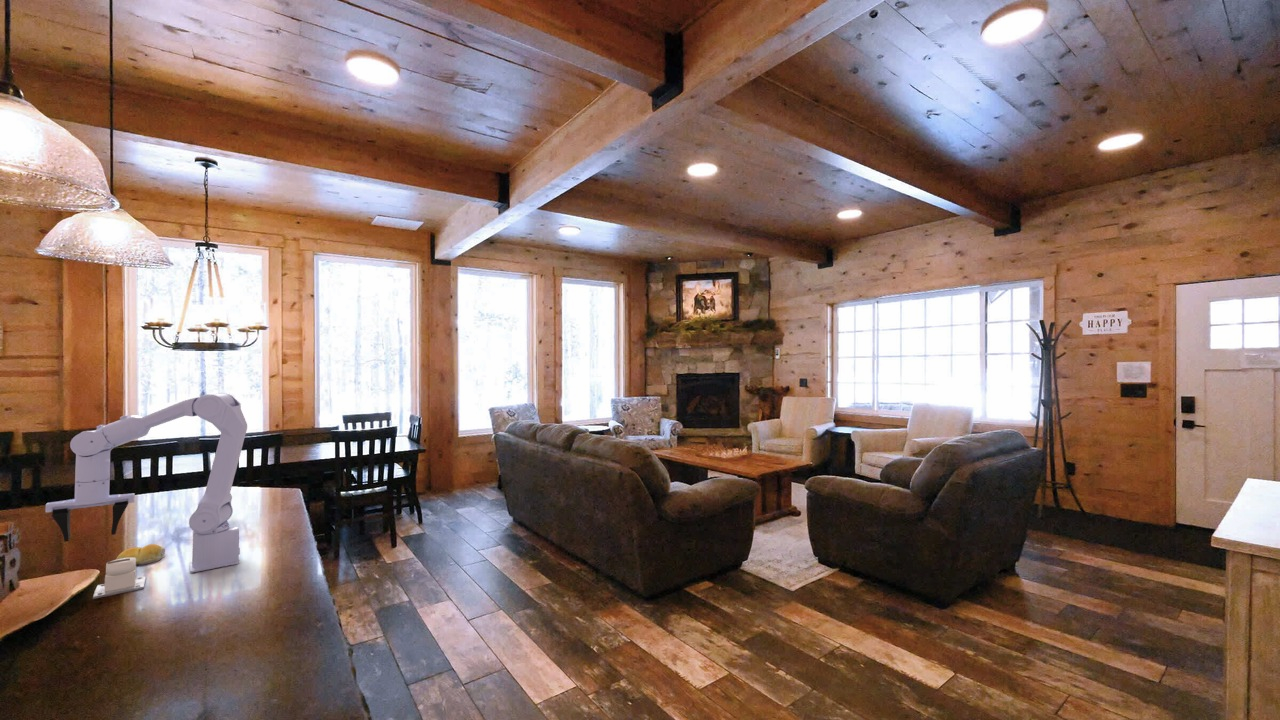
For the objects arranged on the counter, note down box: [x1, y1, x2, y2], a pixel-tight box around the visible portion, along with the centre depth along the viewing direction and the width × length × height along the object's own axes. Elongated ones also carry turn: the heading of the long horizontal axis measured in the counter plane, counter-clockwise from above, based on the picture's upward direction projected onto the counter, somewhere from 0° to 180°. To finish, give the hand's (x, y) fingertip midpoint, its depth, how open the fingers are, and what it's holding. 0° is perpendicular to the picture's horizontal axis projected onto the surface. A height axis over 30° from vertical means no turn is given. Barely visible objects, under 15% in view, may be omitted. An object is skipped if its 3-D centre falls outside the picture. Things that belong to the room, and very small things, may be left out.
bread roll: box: [115, 543, 166, 566], centre depth 134 cm, size 8×9×4 cm
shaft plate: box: [92, 575, 147, 600], centre depth 117 cm, size 8×8×3 cm
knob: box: [104, 557, 137, 591], centre depth 117 cm, size 5×5×6 cm
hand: (90, 536), depth 123 cm, fingers open, 7 cm apart
